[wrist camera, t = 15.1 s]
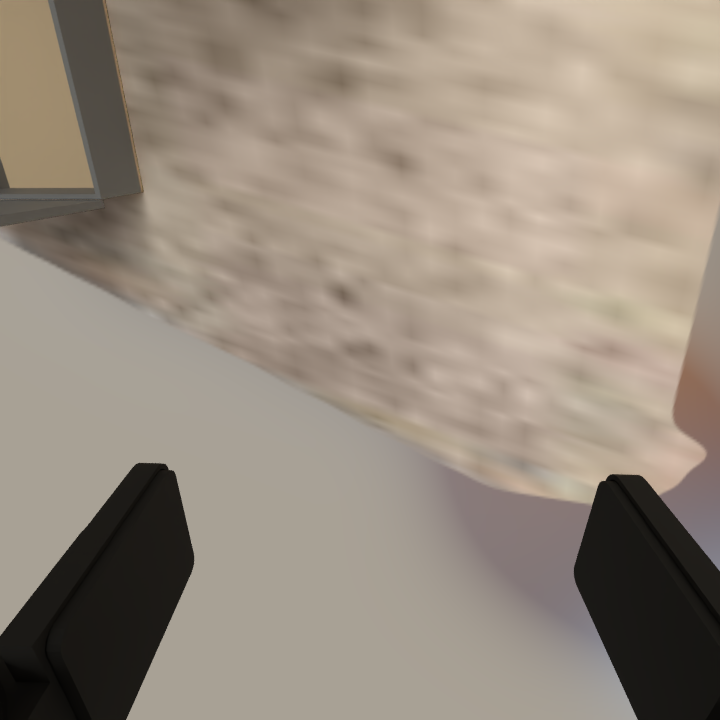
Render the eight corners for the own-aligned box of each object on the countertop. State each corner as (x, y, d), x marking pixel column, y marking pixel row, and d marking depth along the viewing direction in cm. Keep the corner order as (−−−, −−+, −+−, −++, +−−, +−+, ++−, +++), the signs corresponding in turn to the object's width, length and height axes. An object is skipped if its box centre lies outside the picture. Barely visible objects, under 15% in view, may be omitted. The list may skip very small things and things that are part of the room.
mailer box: (-80, -88, 34) (-186, -142, 27) (86, -92, 33) (17, -149, 27) (10, 192, 42) (-55, 199, 36) (143, 191, 42) (101, 199, 35)
